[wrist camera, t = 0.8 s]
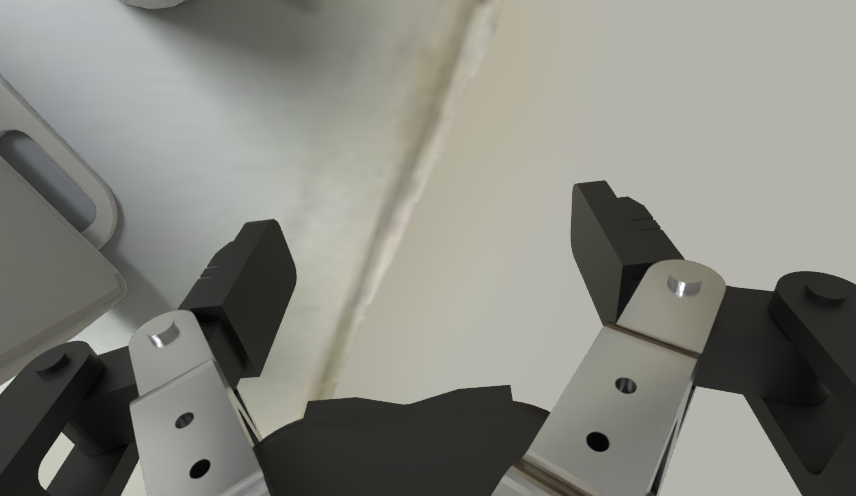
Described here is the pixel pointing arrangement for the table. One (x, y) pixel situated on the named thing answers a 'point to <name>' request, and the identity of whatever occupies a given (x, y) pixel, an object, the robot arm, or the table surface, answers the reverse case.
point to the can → (153, 3)
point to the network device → (49, 250)
